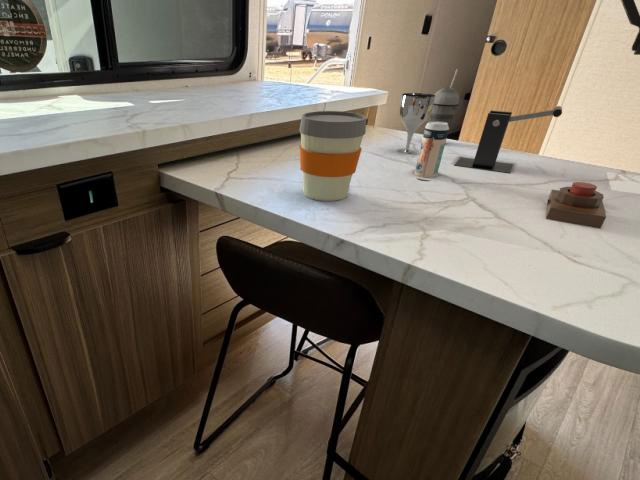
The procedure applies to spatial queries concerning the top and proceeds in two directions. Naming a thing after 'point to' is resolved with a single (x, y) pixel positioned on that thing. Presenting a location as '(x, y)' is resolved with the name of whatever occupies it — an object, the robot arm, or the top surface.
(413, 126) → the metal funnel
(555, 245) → the top surface
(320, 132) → the reusable coffee cup
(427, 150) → the supplement bottle
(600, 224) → the button box
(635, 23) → the robot arm
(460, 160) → the bracket
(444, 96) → the beverage cup
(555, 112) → the lever
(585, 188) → the button
